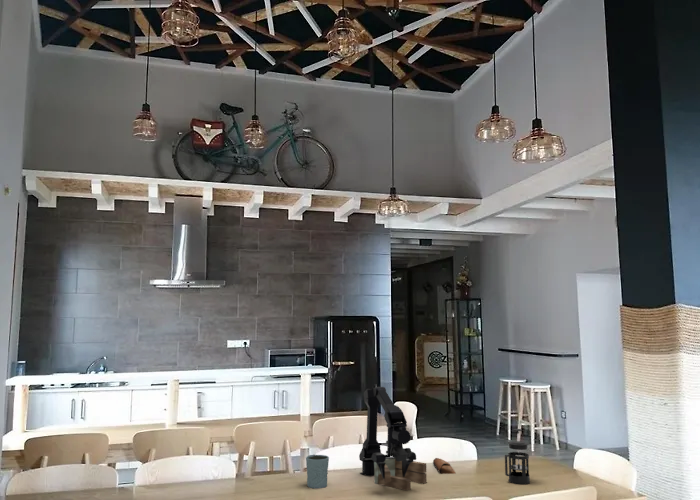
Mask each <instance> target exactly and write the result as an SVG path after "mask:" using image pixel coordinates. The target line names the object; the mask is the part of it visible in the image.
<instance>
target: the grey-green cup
mask: <svg viewBox="0 0 700 500" xmlns="http://www.w3.org/2000/svg"><path fill="white" fill-rule="evenodd" d="M329 459H330V457H329V456H328V455H325V454H310V455H307V456H306V457H305V464H306V474H307V475H306V483H307V487H308V488H310V489H324V488H327V486H328V474H329V472H328V471H329Z"/></svg>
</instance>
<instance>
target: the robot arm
mask: <svg viewBox="0 0 700 500" xmlns="http://www.w3.org/2000/svg"><path fill="white" fill-rule="evenodd" d="M363 399H364V401H363V402H364V403H365V405H366V406H367V412H366V413H367V417H366V418H367V419H366V420H367V421H366V438H365V440H364V442H363V443H362V447H361V448H362V449H360V450H361V451H360V452H359V457H358V458H359V461H361V464H362V465H361V466H362V467H361V468H362V469H361V470H362V472H360V473H359V474H360V475H364V476H368V477H372V476H373V477H374V462H376V463H377V465H378V467H379V469H380V472H381V475H382V478H383V479H385V464H386V463H385V462H384V461H385V460H386V459H395V460H396V461H398V462H400V461H402V475H403V477H405V474H406V471H407V469H408V466H409V464H410V463H411V462H413V461H417V455H416V453H415V452H414V451H412V450H411V448H410V447H405V448H404V447H403V445H407V444H408V443H410V441H411V438H412V437H411V434H410V431H408V430H407V426H408V425H407V419H406V416H405V414H404V412H403V410H402V408H400V407H399V406H398V405H396V404H394V402H393V400H392V399H391V397H390V395H389V393H388V391H387V389H386V387H384V386H375V387H373V388H366V390H365V391H364V392H363ZM380 405H381V407H382V409H383V411H384V415H383V417H384V420H385V423H386V427H387V440H386V441H385V443H386V446H387V450H385V454H384V453H382V450H381V445H380V443H379V441H378V440H377V439H378V438H377V436H378V414H379V413H378V411H379V407H380Z"/></svg>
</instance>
